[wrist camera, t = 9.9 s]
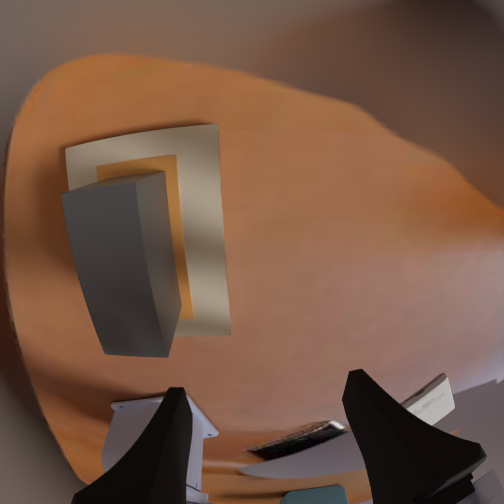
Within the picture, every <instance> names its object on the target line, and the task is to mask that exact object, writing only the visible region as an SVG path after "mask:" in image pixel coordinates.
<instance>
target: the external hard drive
mask: <svg viewBox="0 0 504 504" xmlns="http://www.w3.org/2000/svg"><path fill="white" fill-rule="evenodd" d="M402 406H403V407H404V408H406V409H407V410H408V411H410V412H411V413H412V414H414V415H415V416H417V417H418V418H420V419H421V420H423V421H424V422H426V423H428V424H430V425H431V426H432V425H433V424H434V423H436V422H437V421H439V420H440V419H441V418H443V417H444V416H445V415H447V414H448V413H449V412H450V411H452V410H453V409H454V408H455V405H454V401H453V396H452V392H451V388H450V384H449V381H448V377H447V375H446V374H445V373H444V374H443V375H442V376H440V377H439V378H438V379H437V380H435V381H434V382H433V383H432V384H430V385H429V386H428V387H426V388H425V389H424V390H423V391H422V392H421V393H420V394H418V395H416V396H414V397H413V398H411V399H410V400H409V401H407V402H406V403H404V404H403V405H402Z"/></svg>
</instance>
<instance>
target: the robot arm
mask: <svg viewBox="0 0 504 504" xmlns="http://www.w3.org/2000/svg"><path fill="white" fill-rule="evenodd" d="M342 401H343V405H344V409H345V413H346V416H347V419H348V422H349V424H350V427H351V429H352V432H353V434H354V436H355V438H356V441H357V444H358V446H359V448H360V451H361V453H362V456H363V459H364V462H365V466H366V470H367V474H368V478H369V482H370V487H371V492H372V498H373V504H504V488H503V485H502V483H501V481H500V480H499V478H498V476H497V474H496V472H495V470H494V469H491V470H490V471H489V472H488V473H486V474H485V475H484V476H482V477H481V478H480V479H478V480H477V481H475V482H474V483H473V484H472V482H471V479H473V476H472V474H471V473H472V472H473V471H474V470H475V469H476V468H477V467H478V466H479V465H480V464H481V463H483V461H485V459H486V457H487V455H486V453H485V452H484V450H483V449H482V447H481V445H480V444H479V443H476V442H472V441H468V440H464V439H461V438H458V437H456V436H453V435H450V434H448V433H446V432H443V431H441V430H439V429H437V428H435V427H433V426H431V425H430V424H428V423H426V422H424V421H423V420H421V419H420V418H418V417H417V416H415V415H414V414H412V413H411V412H410V411H408V410H407V409H406V408H404V407H403V406H402V405H400V404H399V403H398V402H397V401H396V400H395V399H393V398H392V397H391V396H390V395H389V394H388V393H387V392H385V391H384V390H383V389H382V388H381V387H380V386H379V385H378V384H377V383H376V382H375V381H374V380H373V379H372V378H371V377H370V376H369V375H368V374H367V373H366V372H365V371H364V370H362V369H358V370H353V371H349V374H348V378H347V382H346V386H345V390H344V394H343V397H342ZM111 408H112V409H113V410H114V411H115V412H114V415H113V418H112V421H111V424H110V427H109V431H108V434H107V437H106V440H105V444H104V447H103V451H102V463H103V467H104V470H105V472H106V473H104V474H103V475H102V476H101V477H99V478H98V479H97V480H96V481H94V482H93V483H91V484H90V485H88V486H87V487H86V488H84V489H82V490H81V491H79V492H77V493H76V494H74V497H73V499H72V502H71V504H213V503H211V502H208V494H206V493H202V492H201V476H202V452H203V438H208V437H215V436H218V433H219V432H218V431H217V430H216V428H215V427H214V426H213V425H212V424H211V423H210V422H209V420H208V419H207V418H206V417H205V416H204V415H203V413H202V412H201V411H200V410H199V408H198V407H197V406H196V405H195V404H194V402H193V401H192V400H191V399H190V397H189V396H188V395H187V394H186V393H185V390H184V387H170V388H169V389H168V390H167V392H166V394H165V396H162V397H155V398H148V399H141V400H132V401H123V402H113V403H111Z"/></svg>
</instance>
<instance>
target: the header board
mask: <svg viewBox="0 0 504 504" xmlns="http://www.w3.org/2000/svg"><path fill="white" fill-rule="evenodd" d="M65 155H66V167H67V177H68V186H69V191H71V190H74V189H77V188H80V187H82V186H85V185H88V184H91V183H95V182H98V181H101V180H104V179H108V178H114V177H121V176H128V175H135V174H143V173H152V172H161V171H165V173H166V185H167V197H168V207H169V217H170V226H171V234H172V242H173V250H174V257H175V264H176V271H177V278H178V284H179V291H180V297H181V302H182V308H181V311H180V315H179V318H178V322H177V326H176V329H175V333H174V337H186V336H224V335H231V323H230V311H229V299H228V287H227V273H226V260H225V245H224V230H223V213H222V196H221V176H220V155H219V129H218V124H209V125H197V126H186V127H177V128H169V129H161V130H153V131H147V132H140V133H134V134H128V135H123V136H117V137H112V138H107V139H102V140H98V141H93V142H89V143H85V144H80V145H76V146H72V147H69V148H65Z"/></svg>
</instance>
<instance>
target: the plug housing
mask: <svg viewBox="0 0 504 504" xmlns="http://www.w3.org/2000/svg"><path fill="white" fill-rule="evenodd" d="M61 196H62V203H63V209H64V215H65V221H66V226H67V231H68V236H69V241H70V246H71V250H72V254H73V258H74V262H75V266H76V270H77V274H78V278H79V281H80V285H81V288H82V291H83V295H84V298H85V301H86V304H87V307H88V310H89V313H90V316H91V319H92V322H93V325H94V327H95V330H96V333H97V335H98V338H99V341H100V343H101V346H102V348H103V351H104V353H105V354H109V355H122V356H140V357H168V356H169V352H170V348H171V345H172V341H173V337H174V333H175V329H176V326H177V322H178V318H179V315H180V311H181V308H182V302H181V297H180V291H179V284H178V278H177V271H176V264H175V257H174V250H173V242H172V234H171V226H170V217H169V207H168V197H167V185H166V173H165V171H161V172H152V173H143V174H135V175H128V176H121V177H114V178H108V179H104V180H101V181H98V182H95V183H91V184H88V185H85V186H82V187H80V188H77V189H74V190H71V191H68V192H65V193H63V194H61Z"/></svg>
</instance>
